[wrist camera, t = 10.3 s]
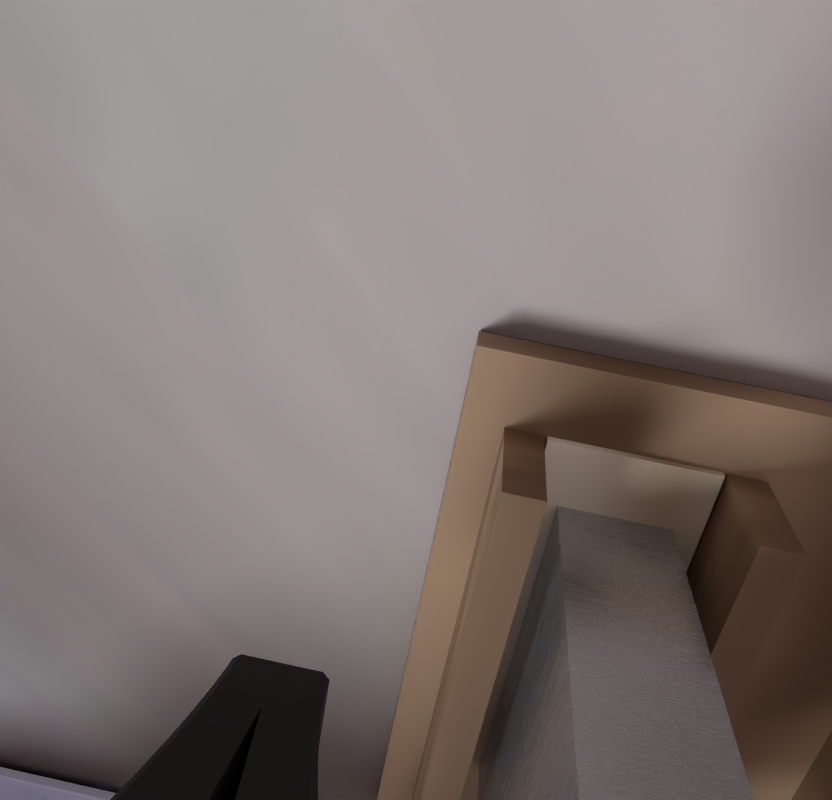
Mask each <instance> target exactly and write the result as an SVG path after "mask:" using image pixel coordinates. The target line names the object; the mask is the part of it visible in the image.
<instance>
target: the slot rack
mask: <svg viewBox="0 0 832 800" xmlns="http://www.w3.org/2000/svg"><path fill="white" fill-rule="evenodd" d="M557 506H561V507H566V508H571V509H575V510H580V511H585V512H590V513H594V514H599V515H604V516H609V517H614V518H618V519H623V520H628V521H633V522H638V523H642V524H647V525H652V526H657V527H661V528H666V529H671V530H673V531H674V534H675V538H676V541H677V545H678V548H679V551H680V555H681V558H682V561H683V565H684V568H685V571H686V575H687V578H688V582H689V585H690V588H691V592H692V595H693V598H694V602H695V605H696V608H697V612H698V615H699V618H700V622H701V625H702V629H703V632H704V635H705V639H706V642H707V645H708V649H709V652H710V655H711V659H712V662H713V665H714V669H715V672H716V676H717V679H718V682H719V686H720V689H721V692H722V696H723V699H724V702H725V706H726V709H727V712H728V716H729V719H730V723H731V726H732V729H733V733H734V736H735V739H736V743H737V746H738V749H739V753H740V756H741V759H742V763H743V766H744V770H745V773H746V776H747V780H748V783H749V786H750V790H751V793H752V796H753V800H832V402H829V401H824V400H819V399H814V398H809V397H804V396H799V395H794V394H789V393H785V392H780V391H775V390H770V389H765V388H760V387H755V386H750V385H745V384H740V383H735V382H730V381H725V380H720V379H715V378H710V377H705V376H700V375H695V374H690V373H686V372H681V371H676V370H671V369H666V368H661V367H656V366H651V365H646V364H641V363H636V362H631V361H626V360H621V359H616V358H611V357H606V356H601V355H596V354H591V353H586V352H582V351H577V350H572V349H567V348H562V347H557V346H552V345H547V344H542V343H537V342H532V341H527V340H522V339H517V338H512V337H507V336H502V335H497V334H492V333H487V332H483V331H479V333H478V338H477V343H476V347H475V352H474V356H473V361H472V365H471V370H470V375H469V379H468V384H467V388H466V393H465V397H464V402H463V406H462V411H461V416H460V420H459V425H458V429H457V434H456V438H455V443H454V448H453V452H452V457H451V461H450V466H449V470H448V475H447V480H446V484H445V489H444V493H443V498H442V502H441V507H440V512H439V516H438V521H437V525H436V530H435V534H434V539H433V544H432V548H431V553H430V557H429V562H428V566H427V571H426V576H425V580H424V585H423V589H422V594H421V598H420V603H419V608H418V612H417V617H416V621H415V626H414V630H413V635H412V639H411V644H410V649H409V653H408V658H407V662H406V667H405V671H404V676H403V681H402V685H401V690H400V694H399V699H398V703H397V708H396V713H395V717H394V722H393V726H392V731H391V735H390V740H389V745H388V749H387V754H386V758H385V763H384V767H383V772H382V777H381V781H380V786H379V790H378V795H377V799H376V800H477V795H478V777H479V765H480V762H481V759H482V755H483V752H484V749H485V745H486V742H487V739H488V735H489V732H490V729H491V725H492V722H493V719H494V715H495V712H496V709H497V705H498V702H499V699H500V695H501V692H502V689H503V685H504V682H505V679H506V675H507V672H508V669H509V665H510V662H511V659H512V655H513V652H514V649H515V645H516V642H517V639H518V635H519V632H520V629H521V625H522V622H523V619H524V615H525V612H526V609H527V605H528V602H529V599H530V595H531V592H532V589H533V585H534V582H535V579H536V575H537V572H538V569H539V565H540V562H541V559H542V555H543V552H544V549H545V545H546V542H547V539H548V535H549V532H550V529H551V525H552V522H553V519H554V515H555V512H556V509H557Z"/></svg>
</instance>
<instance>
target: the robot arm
mask: <svg viewBox="0 0 832 800" xmlns="http://www.w3.org/2000/svg"><path fill="white" fill-rule="evenodd" d="M328 686H329V679H328V678H327V677H326V675H325V674H324V673H323V672H319V671H315V670H310V669H306V668H301V667H296V666H292V665H287V664H283V663H278V662H274V661H269V660H264V659H260V658H255V657H251V656H246V655H242V654H241V655H239V656H237V657H235V658H233V659H232V660H231V662H230V663H229V665H228V666H227V667H226V669H225V670H224V672H223V673H222V674H221V676H220V677H219V678H218V680H217V681H216V682H215V684H214V685H213V686H212V687H211V689H210V690H209V691H208V692H207V694H206V695H205V696H204V697H203V699H202V700H201V701H200V702H199V704H198V705H197V706H196V707H195V708H194V710H193V711H192V712H191V713H190V714H189V715H188V717H187V718H186V719H185V720H184V721H183V722H182V724H181V725H180V726H179V727H178V728H177V729H176V731H175V732H174V733H173V734H172V735H171V736H170V737H169V738H168V739H167V740H166V742H165V743H164V744H163V745H162V746H161V747H160V748H159V749H158V750H157V751H156V752H155V754H154V755H153V756H152V757H151V758H150V759H149V760H148V761H147V762H146V763H145V764H144V766H143V767H142V768H141V769H140V770H139V771H138V772H137V773H136V774H135V775H134V776H133V777H132V778H131V779H130V780H129V781H128V782H127V783H126V784H125V785H124V786H123V787H122V788H121V789H120V790H119V791H118V792H117V793H114V792H109V791H105V790H100V789H96V788H92V787H87V786H83V785H78V784H74V783H70V782H65V781H61V780H56V779H52V778H47V777H43V776H39V775H34V774H30V773H25V772H21V771H17V770H12V769H8V768H3V767H0V800H318V782H317V779H318V749H319V742H320V735H321V729H322V723H323V717H324V710H325V704H326V698H327V692H328Z"/></svg>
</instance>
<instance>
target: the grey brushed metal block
mask: <svg viewBox="0 0 832 800" xmlns="http://www.w3.org/2000/svg"><path fill="white" fill-rule="evenodd" d="M477 800H753V796H752V793H751V790H750V786H749V783H748V780H747V776H746V773H745V770H744V766H743V763H742V759H741V756H740V753H739V749H738V746H737V743H736V739H735V736H734V733H733V729H732V726H731V723H730V719H729V716H728V712H727V709H726V706H725V702H724V699H723V696H722V692H721V689H720V686H719V682H718V679H717V676H716V672H715V669H714V665H713V662H712V659H711V655H710V652H709V649H708V645H707V642H706V639H705V635H704V632H703V629H702V625H701V622H700V618H699V615H698V612H697V608H696V605H695V602H694V598H693V595H692V592H691V588H690V585H689V582H688V578H687V575H686V571H685V568H684V565H683V561H682V558H681V555H680V551H679V548H678V545H677V541H676V538H675V534H674V531H673V530H671V529H666V528H661V527H657V526H652V525H647V524H642V523H638V522H633V521H628V520H623V519H618V518H614V517H609V516H604V515H599V514H594V513H590V512H585V511H580V510H575V509H571V508H566V507H561V506H557V509H556V512H555V515H554V519H553V522H552V525H551V529H550V532H549V535H548V539H547V542H546V545H545V549H544V552H543V555H542V559H541V562H540V565H539V569H538V572H537V575H536V579H535V582H534V585H533V589H532V592H531V595H530V599H529V602H528V605H527V609H526V612H525V615H524V619H523V622H522V625H521V629H520V632H519V635H518V639H517V642H516V645H515V649H514V652H513V655H512V659H511V662H510V665H509V669H508V672H507V675H506V679H505V682H504V685H503V689H502V692H501V695H500V699H499V702H498V705H497V709H496V712H495V715H494V719H493V722H492V725H491V729H490V732H489V735H488V739H487V742H486V745H485V749H484V752H483V755H482V759H481V762H480V765H479V777H478V795H477Z"/></svg>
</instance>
